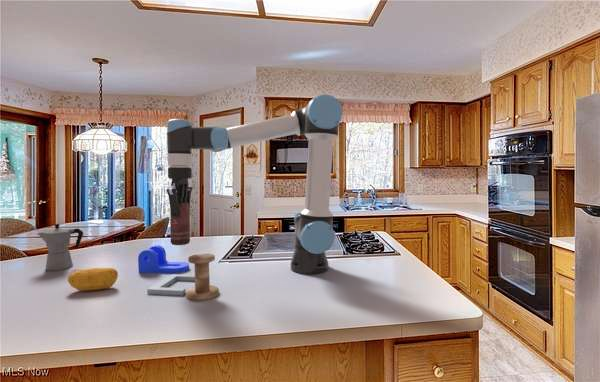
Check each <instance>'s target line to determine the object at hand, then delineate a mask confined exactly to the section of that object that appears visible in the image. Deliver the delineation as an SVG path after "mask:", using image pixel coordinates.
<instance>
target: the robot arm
mask: <svg viewBox="0 0 600 382" xmlns="http://www.w3.org/2000/svg"><path fill="white" fill-rule="evenodd" d="M342 106H343V105H342V104H341V103H340V101H339V100H338V99H337V98H336V97H335V96H333V95H330V94H325V93H323V94H319V95H317V96H315V97H313V98H312V99H311V100H310V101H309V102H308V104H307V105H306V106H305V107H303V108H301V109H300V108H299V109H296V110H294V111H292V113H291V114H287V115H283V116H277V117H273V118H269V119H264V120H260V121H254V122H250V123H246V124H241V125H236V126H231V127H227V128H226V127H223V126H221V127H220V126H194V125H192V123H191V120H189V119H188V120H187V119H180V118H179V119H178V118H172V119H169V120H168V121H167V126H166V141H167V157H166V159H167V165H168V166H169V167H168V168H167V178H168V179H170V180H171V183H170V188H166V193H167V195H168V202H169V210H170V209H171V216H172V217H180V210H179V204H180V203H187V202H188V203H189V210H190V209H191V208H190V207H191V197H192V192H193V191H192V190H193V187H192V186H190V185H189V180H190V179H192V178H193V176H192V174H193V171H192V170H193V169H192V167H191V166H192V165H193V163H192V162H193V160H192V150H209V151H210V152H214V153H220V152H223V151H224V150H229V149H233V148H238V147H243V146H246V145H250V144H257V143H260V142H265V141H269V140H274V139H278V138H283V137H287V136H293V135H296V136H299V137H300V136H305V138H306V139H307V140H308V145H307V146H308V147H307V163H306V179H305V180H306V181H305V196H304V197H305V199H304V208H303V209H302V210H301V211H296V212H295V213H294V218H293V221H294V251H293V254H292V257H291V261H290V270H291V271H292V272H295V273H298V274H304V275H315V274H316V275H317V274H321V273H324V272H325V273H326V272H327V271H328V270H329V261H328V258H327V255H326V254H327V253H326V252H327V251H329V250H330V249H331V248H332V246H333V244H334V242H335V231H334V230H335V229H333V220H334V219H333V218H334V214H333V213H332V212H331V211H330V199H331V198H330V197H331V182H332V168H333V167H332V166H333V165H332V164H333V152H334V151H333V150H334V141H335V140H337V139H338V137H339V125H340V123H341V121H342V119H343V114H344V113H343V107H342Z"/></svg>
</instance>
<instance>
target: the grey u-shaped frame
mask: <svg viewBox="0 0 600 382" xmlns="http://www.w3.org/2000/svg"><path fill="white" fill-rule="evenodd" d="M176 281H180V282H181V281H184V282H186V281H188V282H189V281H190V282H195V274H180V273H170V275H168V276H166V277H165V278H163V279H162V280H160V281H158V282H156V283H155V284H154V285H152V286H150V287H148V288H147V289H146V291H147V295H165V296H168V295H169V296H184V295H186V291H187V289H186V288H183V287H181V288H180V287H169V286H171V285H172V284H174V283H175V282H176Z"/></svg>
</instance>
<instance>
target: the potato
mask: <svg viewBox="0 0 600 382" xmlns="http://www.w3.org/2000/svg"><path fill="white" fill-rule="evenodd" d="M118 274H119V273H118V270H117V269H115V268H113V267H103V268H102V267H93V268H86V269H85V268H84V269H78V270H75V271H74V272H72V273H70V274H69V276H67V282H68V284H69V285H70V286H71V288H74V290H75V289H76V290H77V291H102V290H105V289H109V288H111V287H113V286H114V284H116V282H117V279H118V277H119V275H118Z"/></svg>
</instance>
